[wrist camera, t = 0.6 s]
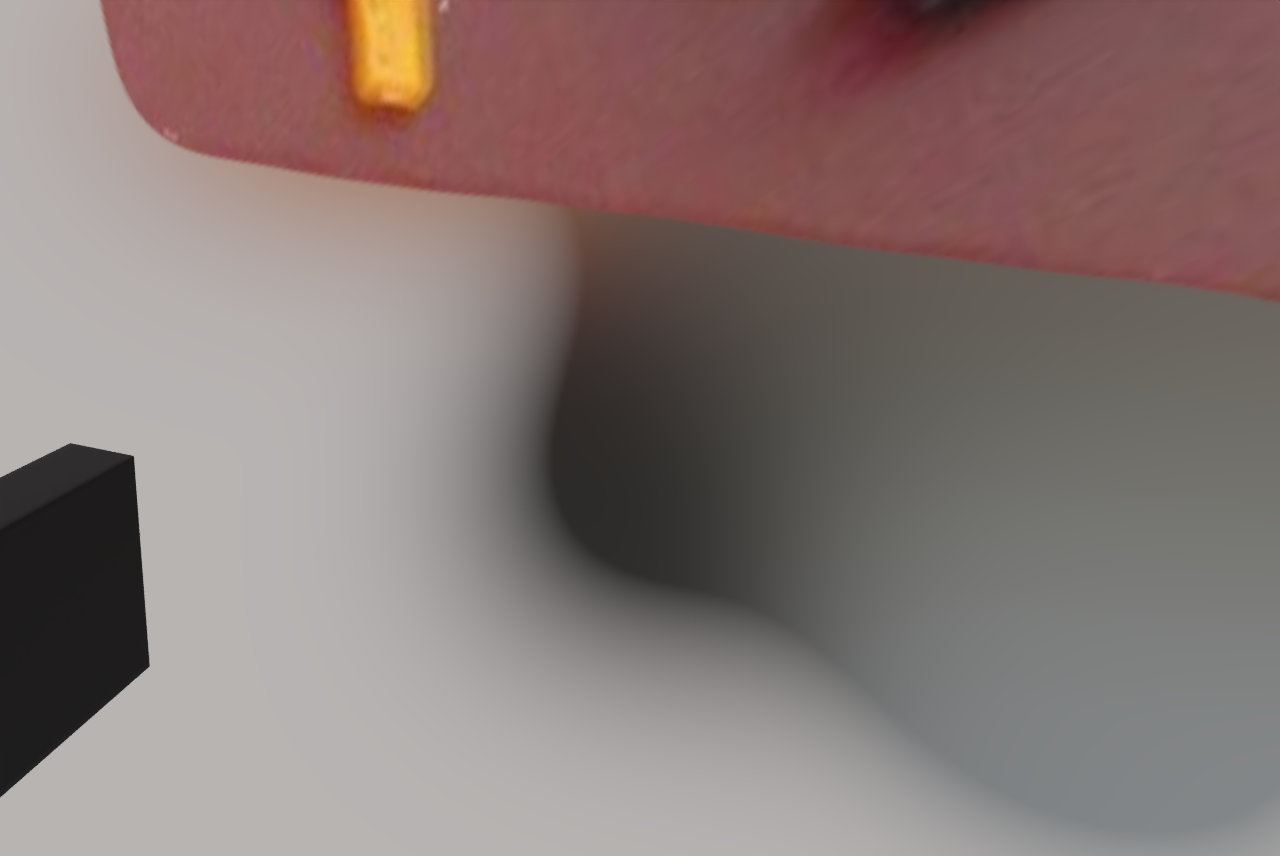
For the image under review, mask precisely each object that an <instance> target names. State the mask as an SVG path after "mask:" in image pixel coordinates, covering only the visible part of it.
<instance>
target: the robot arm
mask: <svg viewBox="0 0 1280 856" xmlns="http://www.w3.org/2000/svg"><path fill="white" fill-rule="evenodd" d="M148 667H149V652H148V640H147V626H146V613H145V600H144V586H143V573H142V559H141V547H140V533H139V520H138V506H137V494H136V480H135V466H134V456H131V455H126V454H121V453H116V452H111V451H106V450H101V449H96V448H91V447H86V446H81V445H76V444H71V443H70V444H68V445H66V446H64V447H62V448H60V449H58V450H56V451H54V452H52V453H49V454H47V455H45V456H43V457H41V458H39V459H37V460H35V461H33V462H31V463H29V464H27V465H25V466H23V467H21V468H19V469H17V470H15V471H13V472H11V473H9V474H7V475H5V476H3V477H1V478H0V797H1V796H2V795H3V794H5V793H6V792H7V791H8V790H9V789H10V788H11V787H13V786H14V785H15V784H16V783H17V782H18V781H19V780H21V779H22V778H23V777H24V776H25V775H26V774H27V773H29V772H30V771H31V770H32V769H33V768H34V767H35V766H37V765H38V764H39V763H40V762H41V761H42V760H43V759H45V758H46V757H47V756H48V755H49V754H50V753H51V752H52V751H54V749H56V748H57V747H58V746H59V745H60V744H62V742H64V741H65V740H66V739H67V738H68V737H69V736H71V735H72V734H73V733H74V732H75V731H76V730H78V728H80V727H81V726H82V725H83V724H84V723H85V722H87V721H88V720H89V719H90V718H91V717H92V716H94V715H95V714H96V713H97V712H98V711H99V710H100V709H102V708H103V707H104V706H105V705H106V704H107V703H108V702H109V701H111V700H112V699H113V698H114V697H115V696H116V695H117V694H119V693H120V692H121V691H122V690H123V689H124V688H125V687H126V686H128V685H129V684H130V683H131V682H132V681H133V680H134V679H136V678H137V677H138V676H139V675H140V674H141V673H143V672H144V671H145V670H146V669H147V668H148Z"/></svg>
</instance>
